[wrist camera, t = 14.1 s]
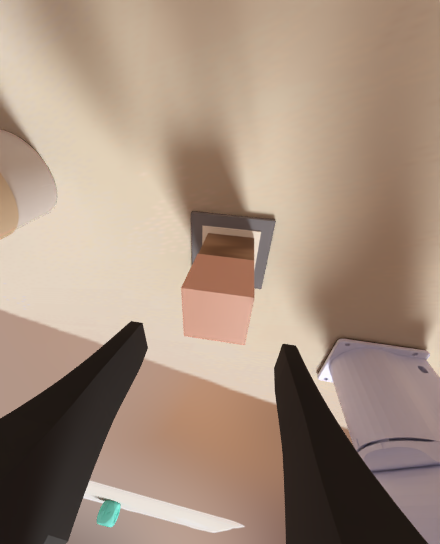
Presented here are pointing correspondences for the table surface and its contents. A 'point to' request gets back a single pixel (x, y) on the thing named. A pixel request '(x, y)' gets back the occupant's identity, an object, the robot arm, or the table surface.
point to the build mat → (235, 227)
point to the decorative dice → (108, 513)
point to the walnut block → (228, 246)
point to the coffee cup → (22, 184)
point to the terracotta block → (218, 298)
